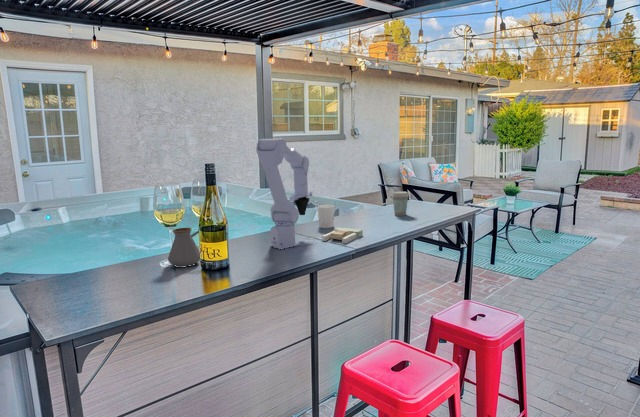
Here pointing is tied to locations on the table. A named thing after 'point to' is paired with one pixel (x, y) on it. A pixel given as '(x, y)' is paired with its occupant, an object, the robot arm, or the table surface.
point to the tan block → (339, 234)
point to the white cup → (326, 216)
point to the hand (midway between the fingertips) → (302, 214)
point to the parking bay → (352, 235)
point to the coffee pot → (184, 248)
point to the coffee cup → (400, 202)
